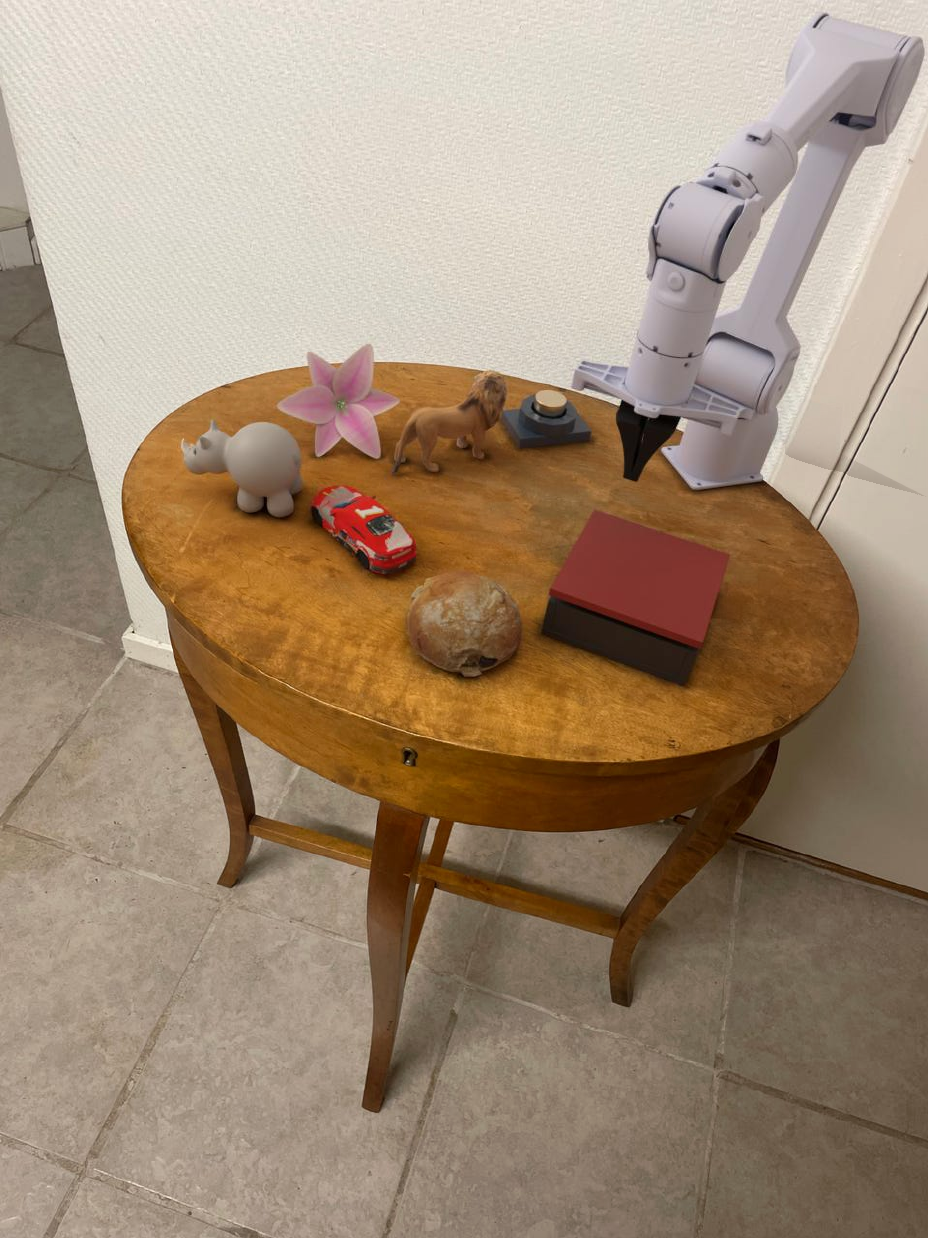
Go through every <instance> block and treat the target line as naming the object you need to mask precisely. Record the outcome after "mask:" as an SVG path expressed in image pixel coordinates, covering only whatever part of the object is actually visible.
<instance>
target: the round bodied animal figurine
mask: <svg viewBox="0 0 928 1238" xmlns="http://www.w3.org/2000/svg"><path fill="white" fill-rule="evenodd" d="M180 448H181V451H182V453H183V458H182V460H183V463H184V465H185V467H186V469H187V470H188V471H189V472H190V473H192V474H193V475H205V474H207V473H210V474H214V475H222V474H224V473H228V474H229V475H230V477H231V479H232V480H233V482H234V484H236V485H237V486H238V491H237V496H236V497H237V498H236V499H237V500H236V502H237V506H238V508H239V509H240V510H241V511H243V512H244V513H256V512H259V511H260V510H262V509H263V507H264V504H265V499H264V497H265V498H266V508H267V512H268V513H269V514H270V515H271V516H273V517H276V518H282V517H283V518H284V517H287V516H289V515H291V514H292V513H293V511H294V508H295V507H294V500H293V497H292V496H293V495H295V494H298V493H299V492H300V491H301V490H302V488H303V476H302V474H301V468H302V454H301V453H302V452H301V449H300V447H299V444H298V442H297V440H296V439H295V437H294V436H293V435H292V434H291V433H290V432H289V431H288V430H287V429H286V428H284V427H282V426H280V425H278V424H276V423H272V422H268V421H258V422H252V423H249V424H247V425H245V426H243V427H242V428H239V430H238V431H237V432H236V433H235V434H234V435H233V436H230V435H229V434H227V433H226V432H224V431H221V430H220V429H219V426H218V424H217V422H216V421H215V420H214V419H211V421H210V427H209V429H208V431H206V432H205V433H203V434H202V435H201V436H199V438H198V440H197V441H196V444H195V445H194V444H193V443H190V445H188V443H187V441H186V439H185V438H184V437H183V438H182V440H181V443H180Z"/></svg>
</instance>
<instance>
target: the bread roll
mask: <svg viewBox="0 0 928 1238" xmlns="http://www.w3.org/2000/svg"><path fill="white" fill-rule="evenodd" d="M410 600H411V601H412V600H413V601H412V603H411V604H410V606H409V609H408V613H407V615H406V622H407V625H406V626H407V632H406V635H407V636H408V637H407V638H408V640H409V642H410V644H411V646H412V649H413V650H414V652H416V653H418V655H419V656H421V658H423V660H425V661H426V662H429V663H431V664H432V665H434V666H435V667H436V668H439V669H441V670H444V671H447V672H451V673H460V674H461V675H462V676H463V677H464V678H468V677H469V678H474V677H477V676H480V675H483V673H482V672H484V671H488V670H490V669H492V668H494V667H497V666H498V665H499V664H500V663H504V662H506V660H508V659H510V658H511V657H512V656H513V655H514V654H515V653H516V651H517V649H518V646H520V645H519V644H520V643H521V639H522V634H523V633H522V632H523V625H522V618H521V617H522V616H521V613H520V609H519V606H518V605H517V602H516V601H515V599H514V598H513V596H511V594H510V593H509V592H508V591H507V590H506V589H505V588H504V587H503V586H502V585H501V584H500V583H498V582H496V581H494V580H493V579H490V578H488V577H486V576H484V575H481V574H478V573H476V572H473V571H466V570H465V571H463V570H452V571H448V572H443V573H441V574H437V575H435V576H432V577H427V578H425V581H424V583H423V585H419V586H417V587H416V588H415V590H414V591H413V592H412V593H411V597H410Z"/></svg>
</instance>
